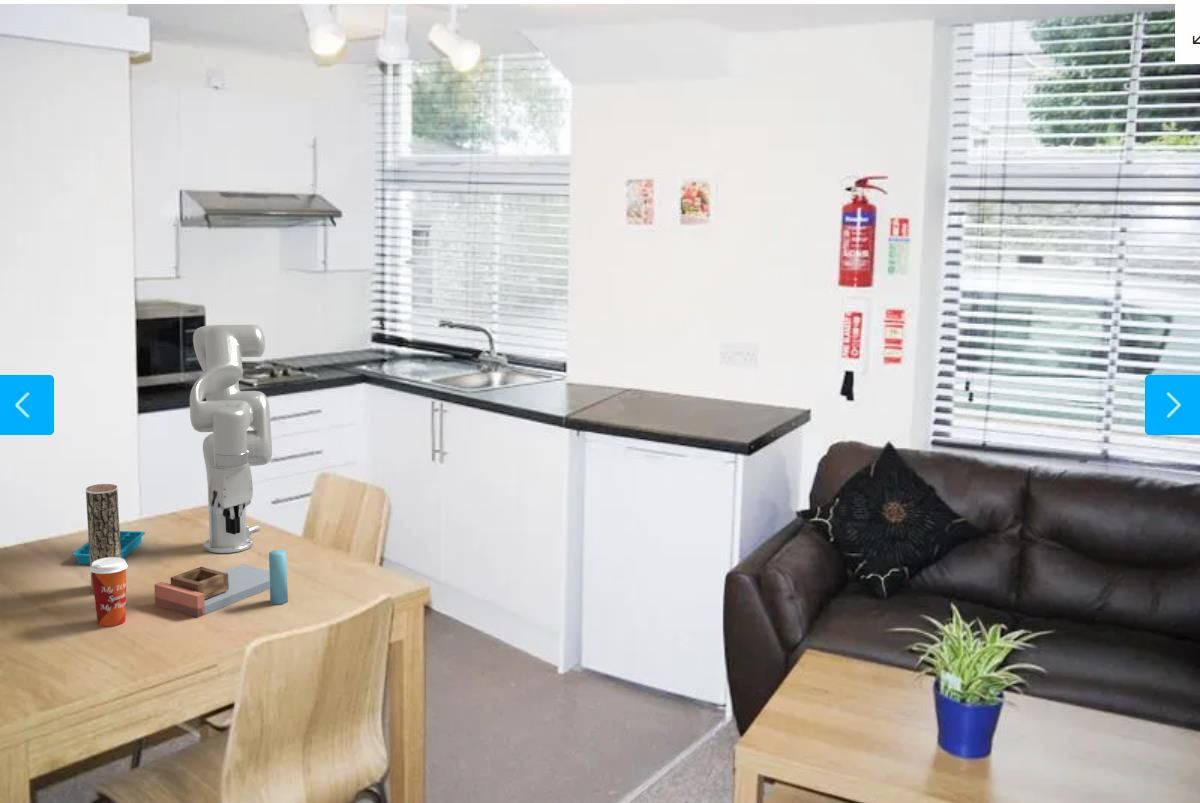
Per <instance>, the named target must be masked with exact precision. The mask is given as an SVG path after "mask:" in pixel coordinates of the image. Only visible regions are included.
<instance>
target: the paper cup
mask: <svg viewBox="0 0 1200 803" xmlns="http://www.w3.org/2000/svg"><path fill="white" fill-rule="evenodd" d="M128 566H129V565H128V564H127V562H126V559H125V558H123V559H122V558H118V557H108V558H102V559H98V560H96V561H94V562H93V563H92V565H91V568H90V567H89V572H90V571H91V572H92V580H93V588H94V590H93V594H94V604H95V611H96V619H97V624H98V626H99V627H104V628H107V627H108V628H111V627H116V626H120V625H122V624H124V623H125V622H126V609H127V607H126V606H127V568H128Z"/></svg>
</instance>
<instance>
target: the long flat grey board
mask: <svg viewBox="0 0 1200 803" xmlns="http://www.w3.org/2000/svg"><path fill="white" fill-rule="evenodd" d="M222 572H223V573H227V574H228V582H229V590H227V591H225V592H222V593H220V594H217V595H215V596H212V597H209V598H207V599H204V594H203V593H200V592H196V591H193V590H189V589H185V588H182V587H178V586H175V585H171V583H168V582H164V581H160V582H158V583H154V585H153V586H154V604H155V606H159V607H162V608H165V609H169V610H171V611H175V612H177V613H182V614H186V615H189V616H191V617H192V616H193V617H195V618H200V617H202V616H203V617H204V616H205V615H208V614H210V613H212V612H215V611H218V610H220V609H222V608H225V607H228V606H230V605H232V604H235V603H237V602H240V601H242V600H245V599H248V598H250V597H252V596H254V595H256V594H259V593H262V592H264V591H266V590H270V572H269V569H268V570H267V569H264V568H260V567H256V566H253V565H252V566H251V565H248V564H244V563H243V564H239V565H237V566H235V567H232V568H229V569H226V570H223V571H222Z"/></svg>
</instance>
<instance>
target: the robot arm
mask: <svg viewBox="0 0 1200 803" xmlns="http://www.w3.org/2000/svg"><path fill="white" fill-rule="evenodd" d="M192 342H193V348H194V349H193V350H194V353H195V356H196V358H197V361H198V363H199V366H200V367H201V370H202V372H203V373H202V375H201V376H200V377H199V378H198V379H197V380H196V381H195V382H194V384H193V386H192V388H191V390H190V395H189V416H190V417H189V418H190V422H191V423H190V424H191V426H192V428H193V430H195V431H196V432H198V433H210V434H208V435H207V436H206V437H205V438H204V439H203V440H202V441H203V443H202V454H203V458H204V464H205V469H206V479H207V502H208V503H207V505H208V508H207V509H208V529H209V530H208V531H209V532H208V534H209V536H208V537H209V539H207V540H205V541H204V542H203V549H204V550H205V551H207V552H211V553H217V554H232V553H233V554H234V553H239V552H242V551H246V550H248V549H250V548H251V547H252V546H253V545H254V541H253V539H252V538H251V537H250V536H252V534H255V533H258V532H260V525H257V524H255V525H253V526H248V525H247V507H248V506H249V505H251V503H252V499H253V496H254V494H253V492H254V491H253V490H254V489H253V488H254V487H253V486H254V485H253V477H252V471H251V467H256V466H257V467H259V466H265V465H267V464H269V463H270V462H271V460H272V455H273V444H272V441H273V440H272V429H271V427H272V426H271V414H270V413H271V412H270V405H269V404H270V403H269V400H268V397H267V396H266V394H265V393H264V392H262V391H258V390H244V391H243V390H240V385H239V381H241V379H242V378H243V374H244V372H243V371H244V369H243V362H242V358H260V357H262V356H263V355H264V353H265V348H266V339H265V335H264V331H263V329H262V328H261V326H260V325H257V324H211V325H210V324H209V325H204V326H200V327H198V328H196V329H195V330H194V332H193V336H192ZM204 399H206V400H204ZM249 428H251V429H253V430H248V429H249Z"/></svg>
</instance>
